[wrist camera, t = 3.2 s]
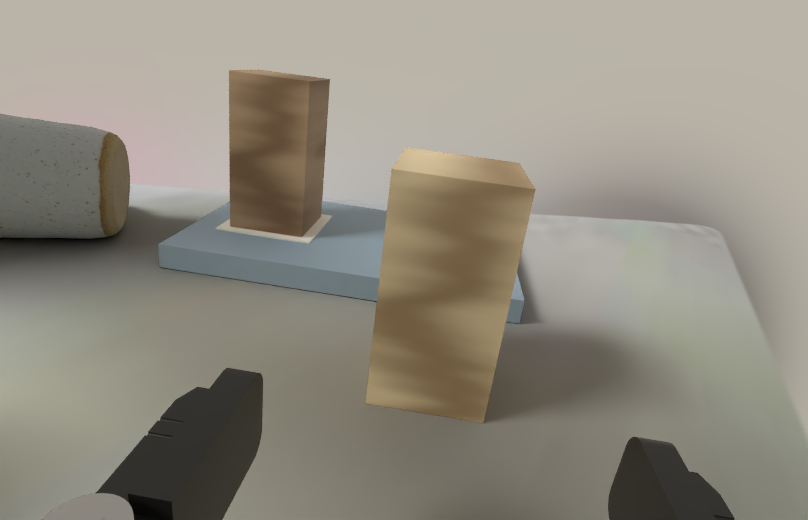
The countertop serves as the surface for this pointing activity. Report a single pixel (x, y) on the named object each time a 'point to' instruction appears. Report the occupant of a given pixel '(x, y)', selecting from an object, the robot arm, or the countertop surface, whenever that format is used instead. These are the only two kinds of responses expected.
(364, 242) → the board
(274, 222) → the walnut pillar
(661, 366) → the countertop surface
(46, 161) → the ceramic mug
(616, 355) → the countertop surface
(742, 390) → the countertop surface
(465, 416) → the oak pillar
